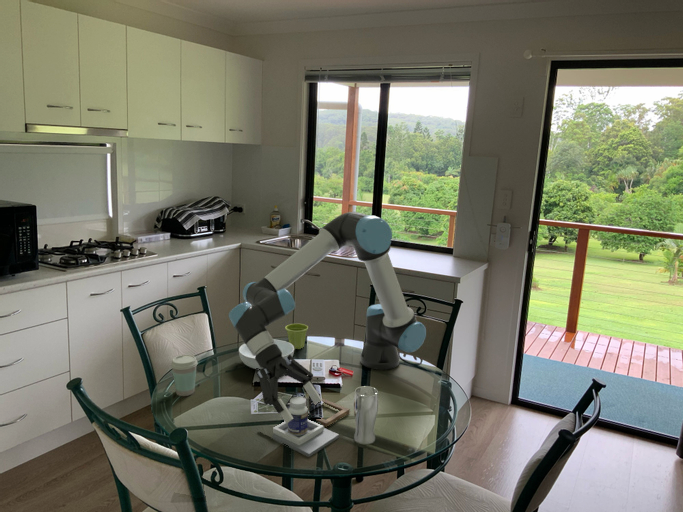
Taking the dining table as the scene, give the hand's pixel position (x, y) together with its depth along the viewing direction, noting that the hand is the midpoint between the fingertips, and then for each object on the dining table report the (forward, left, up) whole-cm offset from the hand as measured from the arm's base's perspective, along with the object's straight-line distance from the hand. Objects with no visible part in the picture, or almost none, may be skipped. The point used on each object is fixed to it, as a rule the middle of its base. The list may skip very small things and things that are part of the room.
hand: (304, 411), depth 155 cm
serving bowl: (-29, -45, -8) cm, 54 cm away
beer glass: (-11, +14, -8) cm, 19 cm away
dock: (0, -2, -8) cm, 8 cm away
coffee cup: (+5, -49, -8) cm, 50 cm away
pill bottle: (0, -2, -7) cm, 8 cm away
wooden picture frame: (-14, -4, -8) cm, 17 cm away
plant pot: (-50, -49, -8) cm, 71 cm away
